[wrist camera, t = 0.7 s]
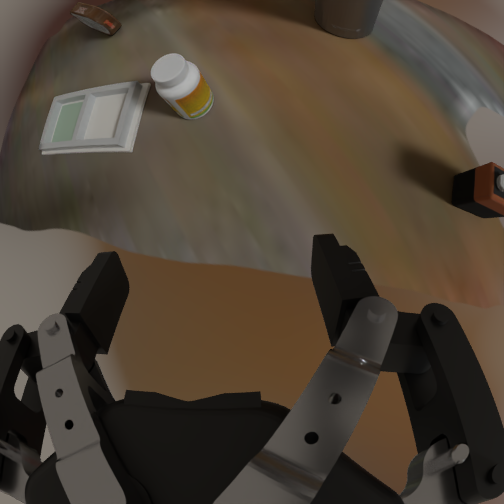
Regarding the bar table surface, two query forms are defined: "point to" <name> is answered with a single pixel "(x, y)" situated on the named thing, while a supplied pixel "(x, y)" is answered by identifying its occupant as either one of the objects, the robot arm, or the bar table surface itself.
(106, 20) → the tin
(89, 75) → the bar table surface
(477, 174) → the battery
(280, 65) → the bar table surface
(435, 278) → the bar table surface
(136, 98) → the compartment tray
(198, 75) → the supplement bottle
